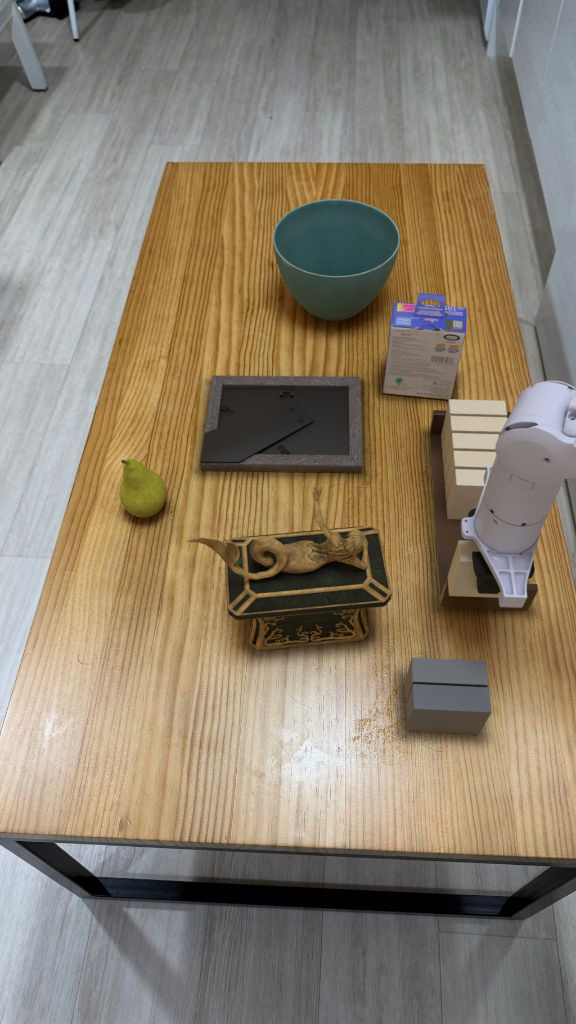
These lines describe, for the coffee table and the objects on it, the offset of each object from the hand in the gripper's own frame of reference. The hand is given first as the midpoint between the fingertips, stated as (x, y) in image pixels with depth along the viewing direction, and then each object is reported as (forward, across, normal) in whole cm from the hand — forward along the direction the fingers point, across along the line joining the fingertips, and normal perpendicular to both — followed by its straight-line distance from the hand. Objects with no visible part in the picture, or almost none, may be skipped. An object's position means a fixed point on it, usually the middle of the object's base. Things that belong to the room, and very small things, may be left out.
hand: (486, 577), depth 76 cm
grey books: (+10, +10, -4) cm, 15 cm away
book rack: (+10, -15, +2) cm, 18 cm away
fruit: (+11, -15, -39) cm, 43 cm away
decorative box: (+11, 0, -20) cm, 23 cm away
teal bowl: (+11, -55, -16) cm, 58 cm away
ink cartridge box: (+11, -38, -4) cm, 39 cm away
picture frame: (+11, -29, -22) cm, 38 cm away
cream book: (+2, 0, 0) cm, 2 cm away
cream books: (+10, -21, +2) cm, 23 cm away
